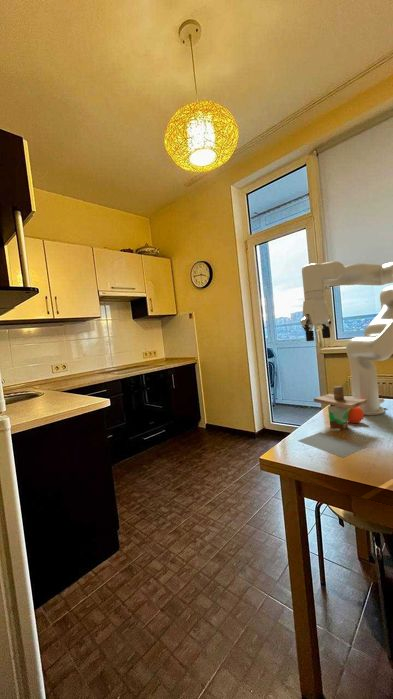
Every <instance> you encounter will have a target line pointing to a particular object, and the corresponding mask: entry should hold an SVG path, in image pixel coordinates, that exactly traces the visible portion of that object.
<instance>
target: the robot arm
mask: <svg viewBox="0 0 393 699" xmlns="http://www.w3.org/2000/svg"><path fill="white" fill-rule="evenodd" d="M301 276H302V286H303V297H304V301H303V303H302V318H301V320H300V324H301V328H302V329H303V331H304V332H305V340H306V342H314V341H315V336H314V330H313V328H314V326H319V325H320V326H321V327H322V328H321V332H322V333H321V334H322V339H330V338H331V331H330V330H331V325H332V320H333V316H332V315H330V314H329V308H328V303H327V299H326V294H325V292H326V291H325V287H329V286H330V287H333V286H335V287H336V286H356V285H360V286H385V285H387V286H386V287H384V288H383V289H382V290H381V291H380V294H379V301H380V307H381V308H380V311H379V312H378V314H377V315H376V316H375V317H374V318H373V319H372V320H371V322H369V323H368V324H367V326H366V327H365V329H364V331H363V332H364V333H363V334H364V336H356V337H352V338H351V339H350V340H348V341H347V343H346V348H345V350H346V356H347V358H348V363H349V366H350V378H351V379H350V380H351V381H350V383H351V393H352V397H353V398H359V399H365V400H367V403H366V404H363V405H360V406H358V407H360V408H361V409H362V411H363V416H378V415H381V414H384V412H385V409H384V407H382V406H381V404H383V403H384V402H385V399H384V398H382V397H381V398H379V396H380V395H379V385H378V384H379V383H378V370H377V366H376V364H375V361H376V362H378V361H381V362H382V361H385V360H388V359H389V358H390V357H391V356H393V261H390V262H386V263H382V264H374V263H373V264H372V263H363V262H362V263H359V262H358V263H352V264H350V265H345V266H344V264H343V263H342V262H340V261H338V260H337V261H336V260H333V261H328V262H327V261H326V262H322V263H317V262H316V263H310V264H306V265H304V266H303V267H302V268H301ZM389 284H392V285H389ZM388 285H389V286H388Z"/></svg>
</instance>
